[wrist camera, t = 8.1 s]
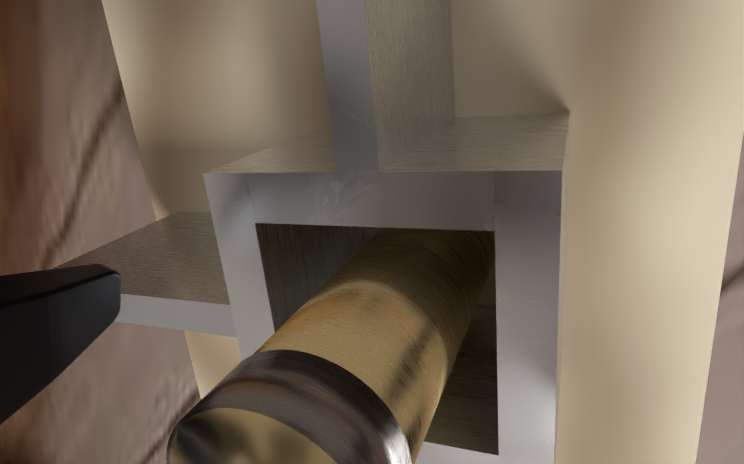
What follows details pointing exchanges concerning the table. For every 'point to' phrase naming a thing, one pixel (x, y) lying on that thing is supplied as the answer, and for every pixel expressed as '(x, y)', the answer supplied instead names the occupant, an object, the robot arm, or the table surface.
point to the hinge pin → (350, 361)
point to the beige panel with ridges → (451, 194)
